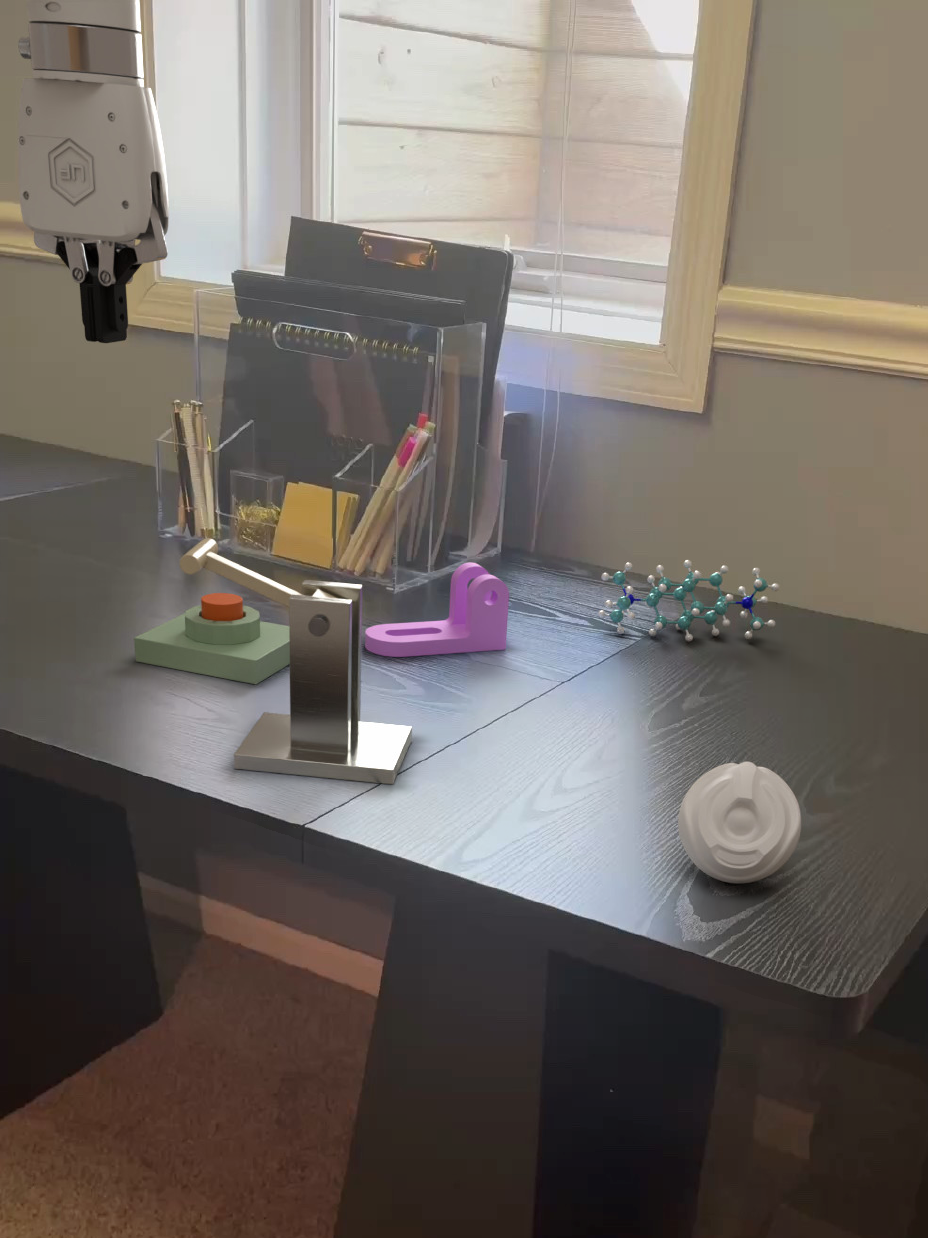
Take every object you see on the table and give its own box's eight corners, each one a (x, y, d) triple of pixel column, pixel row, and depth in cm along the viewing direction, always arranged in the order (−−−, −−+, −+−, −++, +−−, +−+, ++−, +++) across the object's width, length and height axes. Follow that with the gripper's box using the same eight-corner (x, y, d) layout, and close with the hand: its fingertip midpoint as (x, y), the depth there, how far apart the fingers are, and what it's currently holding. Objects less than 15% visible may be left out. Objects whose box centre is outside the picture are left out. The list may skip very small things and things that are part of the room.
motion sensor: (667, 892, 90) (682, 784, 86) (675, 843, 96) (689, 740, 93) (791, 909, 89) (811, 800, 85) (789, 859, 95) (809, 755, 92)
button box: (135, 661, 122) (132, 617, 120) (194, 631, 130) (192, 589, 128) (256, 684, 119) (255, 640, 117) (308, 652, 127) (308, 610, 125)
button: (194, 620, 122) (193, 600, 121) (214, 609, 125) (214, 590, 124) (230, 626, 121) (229, 606, 120) (250, 615, 124) (249, 596, 123)
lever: (174, 575, 98) (184, 545, 97) (195, 558, 103) (205, 528, 101) (331, 648, 100) (343, 618, 98) (344, 627, 104) (356, 599, 103)
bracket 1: (233, 769, 103) (228, 600, 97) (264, 725, 111) (260, 567, 104) (393, 784, 102) (397, 616, 96) (411, 740, 110) (417, 582, 104)
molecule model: (592, 620, 142) (598, 550, 138) (758, 626, 144) (769, 557, 140) (604, 646, 135) (611, 572, 131) (779, 651, 137) (791, 579, 133)
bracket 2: (483, 631, 136) (487, 561, 133) (505, 649, 132) (510, 577, 128) (357, 640, 131) (358, 567, 128) (376, 658, 127) (377, 584, 123)
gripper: (-38, 49, 95) (-8, 334, 104) (151, 61, 91) (165, 356, 100) (30, 58, 101) (52, 326, 110) (209, 70, 97) (218, 347, 106)
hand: (106, 340), depth 105 cm, fingers closed
